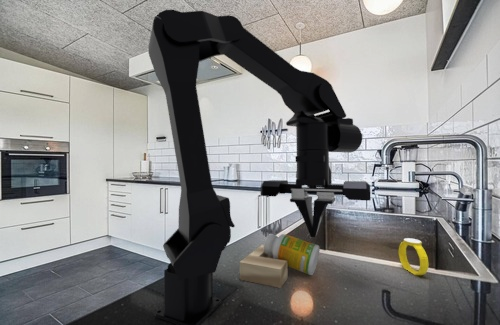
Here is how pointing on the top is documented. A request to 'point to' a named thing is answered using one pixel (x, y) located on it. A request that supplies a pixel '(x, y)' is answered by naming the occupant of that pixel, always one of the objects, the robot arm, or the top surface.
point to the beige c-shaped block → (263, 269)
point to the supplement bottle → (293, 252)
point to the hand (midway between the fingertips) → (313, 236)
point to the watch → (421, 254)
